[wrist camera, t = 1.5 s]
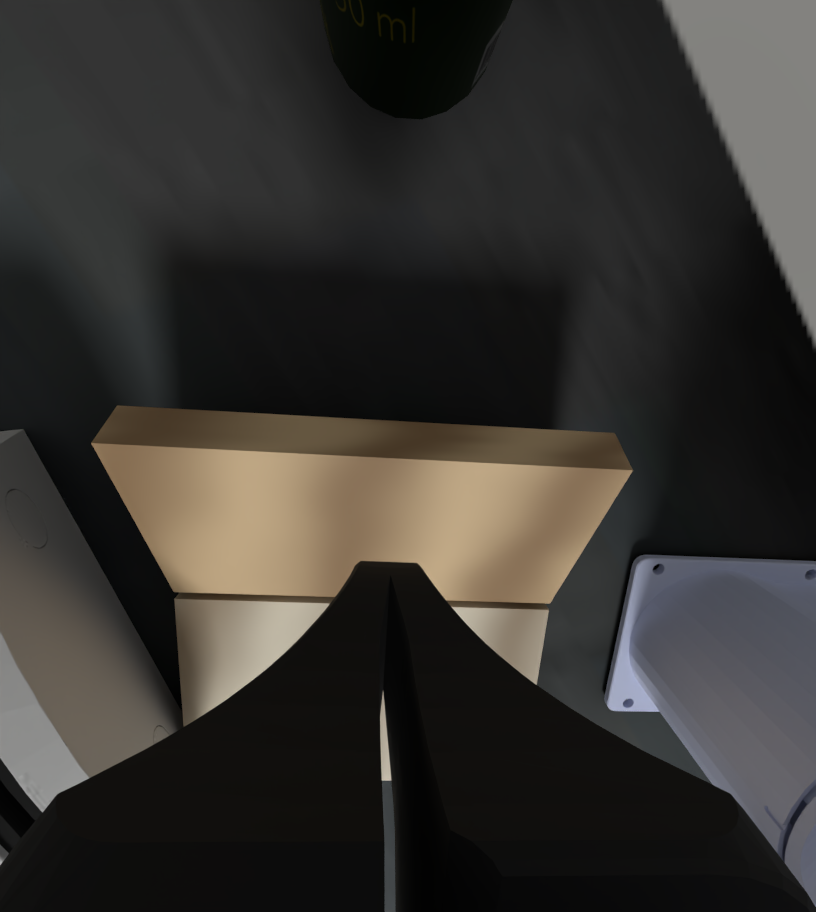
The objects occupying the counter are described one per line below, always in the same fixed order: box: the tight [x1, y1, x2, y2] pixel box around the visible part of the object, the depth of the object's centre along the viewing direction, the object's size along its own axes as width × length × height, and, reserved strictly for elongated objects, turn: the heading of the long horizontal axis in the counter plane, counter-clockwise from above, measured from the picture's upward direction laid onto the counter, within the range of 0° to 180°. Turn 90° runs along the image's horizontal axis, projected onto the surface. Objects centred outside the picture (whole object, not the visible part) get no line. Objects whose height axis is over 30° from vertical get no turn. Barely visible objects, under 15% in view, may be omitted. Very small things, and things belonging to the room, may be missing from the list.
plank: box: [91, 405, 633, 604], centre depth 16 cm, size 15×8×2 cm, turn 86°
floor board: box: [174, 592, 549, 780], centre depth 20 cm, size 15×9×2 cm, turn 86°
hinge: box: [0, 429, 184, 865], centre depth 16 cm, size 17×5×10 cm, turn 18°
